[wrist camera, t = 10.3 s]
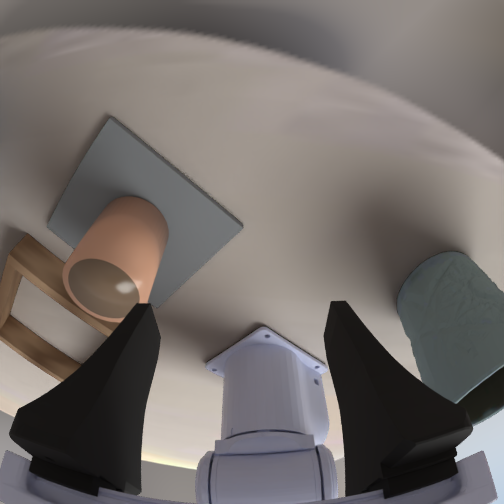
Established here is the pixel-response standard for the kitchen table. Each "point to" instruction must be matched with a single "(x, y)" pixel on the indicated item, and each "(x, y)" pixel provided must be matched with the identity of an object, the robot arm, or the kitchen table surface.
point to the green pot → (456, 332)
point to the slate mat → (152, 190)
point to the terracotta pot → (117, 259)
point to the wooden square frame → (50, 282)
